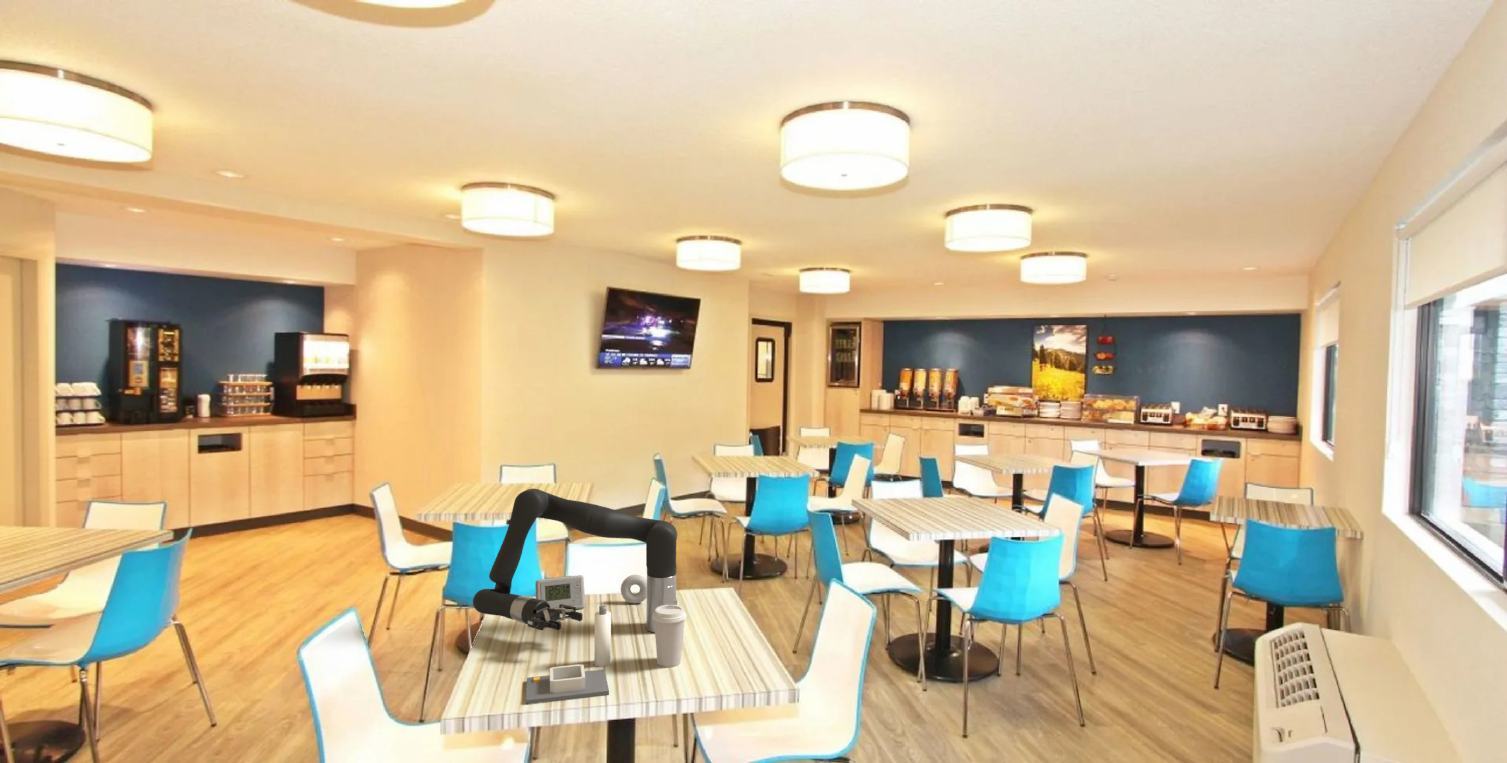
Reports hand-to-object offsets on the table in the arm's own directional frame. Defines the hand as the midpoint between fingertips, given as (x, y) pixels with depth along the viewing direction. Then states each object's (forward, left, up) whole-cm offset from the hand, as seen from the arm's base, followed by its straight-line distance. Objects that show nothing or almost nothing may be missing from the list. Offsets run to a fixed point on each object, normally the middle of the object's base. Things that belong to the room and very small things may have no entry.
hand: (571, 621), depth 206 cm
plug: (-8, +8, -10) cm, 15 cm away
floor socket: (+2, +21, -10) cm, 23 cm away
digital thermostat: (+2, -39, -10) cm, 40 cm away
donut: (-23, -39, -10) cm, 46 cm away
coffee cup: (-26, +12, -10) cm, 30 cm away
